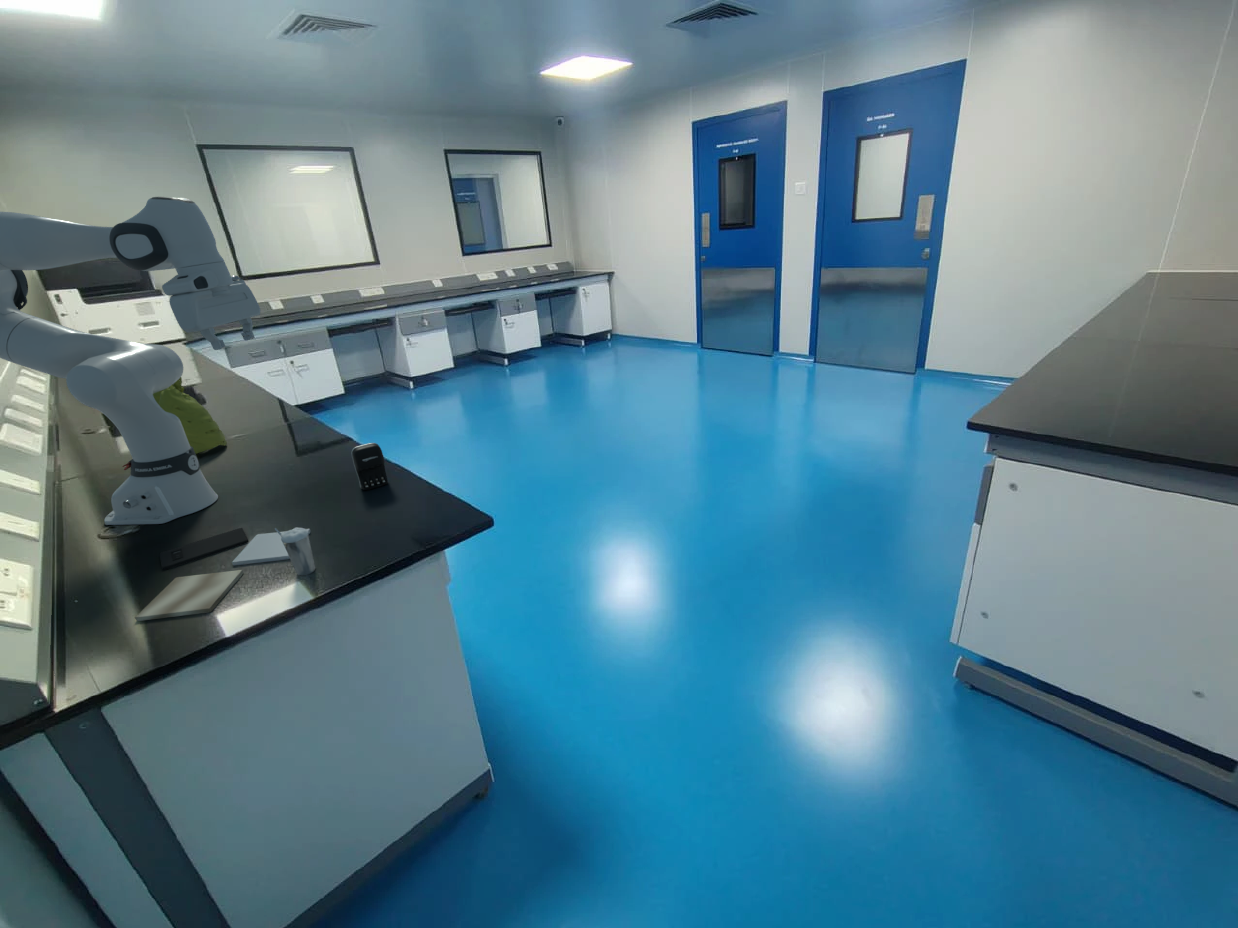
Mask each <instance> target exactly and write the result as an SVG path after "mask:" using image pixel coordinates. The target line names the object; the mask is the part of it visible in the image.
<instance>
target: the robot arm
mask: <svg viewBox="0 0 1238 928" xmlns="http://www.w3.org/2000/svg"><path fill="white" fill-rule="evenodd" d="M216 241H217V240H216V238H215V236H214V234H213V231H212V229H211V227H210V225H209V222H208V221H207V218H206V217H205V215H204V212H203V211H202V210H201V208H200V207H199V206H198V205H197V203H196V202H194V201H193V200H191V199H189V198H186V197H174V196H173V197H172V196H153V197H151V198H149V199H148V200H147V201H146V204H145V206H144V207H143V208H142V209H141V210H140V211H139V212H138V213H136V214H134V215H133V216H132V217H130V218H128V219H126V220H123V221H122V222H119V223H116V224H115V225H114V226H98V225H91V224H85V223H79V222H78V223H77V222H73V221H67V220H61V219H55V218H50V217H46V216H45V217H44V216H41V215H35V214H34V215H33V214H29V213H20V212H12V211H0V359H2V360H5V361H7V362H10V363H13V364H16V365H18V366H21V367H24V368H25V367H26V368H28V369H31V370H35V371H38V372H40V373H44V374H47V375H50V376H53V377H56V378H60V379H65V381H66V387H67V388H68V391H69V393H70V394H71V395H72V396H73V398H74V399H75V400H77V401H78V402H79V403H80V404H83V405H84V406H87V407H89V408H92V409H94V410H97V411H99V412H101V413H102V414H103V415H104V416H105V417H107V418H108V419H109V420H110V421H111V422H112V424H113V425H114V426H115V427H116V428H117V430H118V431H119V433H120V435H121V437H122V438H123V441H124V443H125V446H126V447H127V449H128V452H129V453H130V455H131V457H132V458H131V459H130V460H129V461H128V462H127V463H126V464H124V465H122V468H124V469H123V470H124V471H127V470H128V469H130V475H129V476H128V477H127V478H126V479H125V480H124V481H123V483H121V485H120V486H119V487H118V488H116V490H115V491H114V492H112V495H111V499H110V500H111V502H110V503H111V507H112V510H111V512H109V514H106V516H105V518H104V525H106V526H108V525H109V526H110V525H113V526H116V525H117V526H118V525H121V526H122V525H123V526H124V525H159V524H165V523H168V522H171V521H173V520H176V519H178V518H181V517H184V516H187V515H191V514H193V513H196V512H199V511H201V510H203V509H206V508H207V507H209V506H211V505H213V504H214V503H215V502H216V501H217V500H218V499H219V495H218V494H217V492H215V491H214V489H213V488H212V486H211V485H210V484H209V482H208V481H207V480H206V478H205V477H206V476H205V475H204V474H203V472H202V469H201V467H200V466H201V465H200V462H199V459H198V457H197V454H195V451H194V449H193V447H192V446H190V444H189V442H188V439H187V437H186V434H185V431H184V429H183V426H182V424H181V421H180V419H179V418H178V417H177V416H176V415H174V414H172V413H169V412H165V411H164V410H163V409H162V408H161V407H160V406H159V405H158V403H157V402H156V401H155V399H154V397H153V394H154V393H156V392H159V391H162V390H164V389H167V388H168V387H170V386H171V385H172V384H174V383H175V382H176V381H177V380H178V379H179V378H180V377H181V378H182V376H183V374H184V363H183V362H182V359H181V357H180V355H178V354H177V352H175V351H174V350H173V349H171V348H170V347H168V346H165V345H163V344H162V345H161V344H155V343H153V344H152V343H142V342H136V341H130V340H126V339H121V338H116V337H110V336H104V335H99V334H93V333H88V332H85V331H82V330H81V331H80V330H77V329H74V328H71V327H68V326H65V325H62V324H59V323H56V322H53V321H50V320H47V319H45V318H41V317H38V316H36V315H35V316H34V315H31V314H29V313H26V312H24V311H21V310H22V309H23V308H25V306H26V305H27V304H28V298H27V296H28V294H29V284H28V280H27V276H26V274H25V272H24V271H39V270H49V269H54V268H60V267H65V266H71V265H76V264H79V263H80V264H81V263H85V262H90V261H97V260H103V259H114V258H115V259H118V260H119V261H120V262H121V263H122V264H124V265H125V267H126V266H127V267H128V268H130V269H133V270H136V271H142V272H145V271H146V272H154V271H162V270H163V271H165V270H172V269H175V271H176V273H177V274H176V275H174V276H173V277H172V278H171V279H170V280H167V281H166V282H165V283H164V284H162V286H161V288H162V289H161V290H162V291H163V293H164V294H165V295H166V296H168V297H169V296H170V298H169V301H168V302H169V305H170V308H171V311H172V313H173V316H174V318H175V319H176V322H177V324H178V326H179V327H180V328H181V330H183V331H184V332H186V333H188V334H189V333H194V332H200V334H201V336H202V337H203V338H204V339H205V340H206V341H208V342H209V343H210V345H211V346H212V349H213V350H214V351H219V350H223V349H226V344H225V342H224V340H223V339H219V338H218V336H216V334H215V333H216V330H215V328H216V327H220V326H223V325H227V324H231V323H234V322H239V324H240V325H242V332H241V333H240V334H241V337H242V339H243V340H244V341H251V340H254V339H255V335H254V332H253V327H254V326H253V320H252V318H253V317H257V316H260V315H261V307H260V305H259V303H258V301H257V299H256V297H255V295H254V293H253V291H252V290H251V288H250V287H249V286H248V285H247V283H246V281H245V280H244V279H242V278H241V277H239V276H238V275H231V273H230V272H229V269H228V266H227V265H226V264H227V263H226V261H225V260H224V258H223V256H221V254H220V252H219V250H218V247H217V242H216Z"/></svg>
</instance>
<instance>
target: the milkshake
mask: <svg viewBox="0 0 1238 928" xmlns="http://www.w3.org/2000/svg"><path fill="white" fill-rule="evenodd" d="M306 529H307V528H303V527H294V528H293V529H289V530H286V531H287V532H286V533H285V534H283V535H282V534H281V533H280V532H281V531H279V530H278V528H277V527H274V530H275V531H276V532H278V534H279V535H280V536H281V541H282V543H283V545H284V547H285V549H286V551H287V553H288V555H289V558H290V559H289V560H290V562H291V564H292V566H293V569H294V572H295V573H296V576H300V577H303V576H305V577H306V576H308V575H310V574H312V573H313V572H314V571H316V564H315V561H314V555H313V550H312V547H311V541H310V534H308V531H307V530H306Z"/></svg>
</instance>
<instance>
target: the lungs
mask: <svg viewBox="0 0 1238 928" xmlns="http://www.w3.org/2000/svg"><path fill="white" fill-rule="evenodd" d="M182 384H183V379H182V376H181V377H180V378H179V379H178V380H177V381H176V382H175V383H174V384H172V385H171V386H170V387H168V388H167V389H164V390H162V391H159V392H156V393H154V394H153V397H154V399H155V401H156V402H157V403H158V405H159V406H160V407H161V408H162V409H163V410H164V411H165V412H169V413H172V414H174V415H176V416H177V417H178V418H179V419H180V421H181V424H182V426H183V429H184V431H185V434H186V437H187V439H188V442H189V444H190V446H192V447H193V449H194V451H195V454H196V455H198V454H199V453H202V452H205V451H208V450H213V449H214V448H216V447H218V446H224V447H226V446H227V445H228V444H227V443H228V442H227V440H226V435H225V434H224V433H223V431H222V430H221V429H220V427H219V424H218V423H217V421H215V420H214V419H213V417H212V415H211V414H210V413H209V411H208V410H207V409H206V407H204V406H203V405H202V404H201V403H200V402H198V401H197V399H196V398H194V397H193V396H190V394H187V393H185V392H184V391H185V387H183V386H182Z"/></svg>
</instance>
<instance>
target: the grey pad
mask: <svg viewBox="0 0 1238 928" xmlns="http://www.w3.org/2000/svg"><path fill="white" fill-rule="evenodd" d="M305 529H306V530H307V531H308V534H309V535H310V534H311V533H312V532H311V529H310V528H305ZM287 531H288V530H285V531H279V532H280V533H281V534H282V535H283V534H285V533H286V532H287ZM283 560H284V561H285V560H290V558H289V555H288V553H287V551H286V549H285V547H284V545H283V543H282V541H281V536H280V535H279V534H278V532H277V531H276V532H268V533H258V534H256V535H255V536H254V537H253V538H252V539H251V540H250V541H249V542H248V543H247V544H246V545H245V547H244V548H243V549H242V551H240V552H239V554H238V555H237V556H236V557H235V558H234V559H233V561H231V563H232V565H233V566H240V565H241V566H242V565H247V564H257V563H267V562H274V561H275V562H276V561H283Z"/></svg>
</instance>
